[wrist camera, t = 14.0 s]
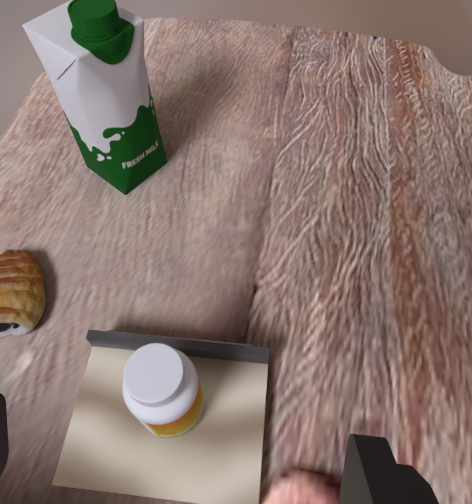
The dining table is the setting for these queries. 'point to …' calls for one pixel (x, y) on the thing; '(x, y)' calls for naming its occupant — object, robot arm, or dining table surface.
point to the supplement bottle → (163, 390)
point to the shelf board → (169, 450)
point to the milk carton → (102, 87)
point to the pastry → (20, 293)
